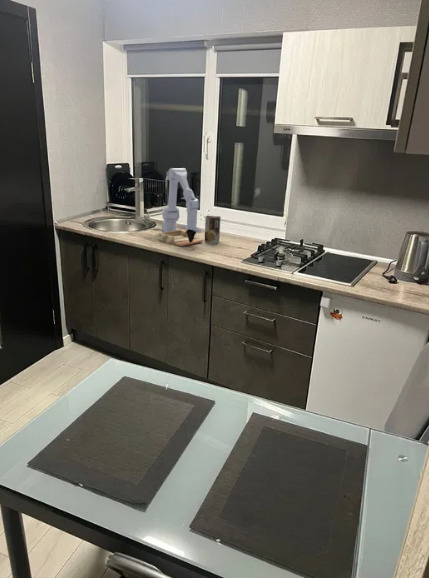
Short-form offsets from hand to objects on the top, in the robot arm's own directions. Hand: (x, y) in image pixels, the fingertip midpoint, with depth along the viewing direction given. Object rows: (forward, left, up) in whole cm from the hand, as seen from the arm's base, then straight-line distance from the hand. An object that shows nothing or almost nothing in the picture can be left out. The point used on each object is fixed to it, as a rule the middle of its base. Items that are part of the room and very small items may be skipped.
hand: (190, 242), depth 259 cm
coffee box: (+2, +16, -2) cm, 16 cm away
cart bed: (-13, 0, -2) cm, 13 cm away
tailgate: (-5, 0, -1) cm, 5 cm away
